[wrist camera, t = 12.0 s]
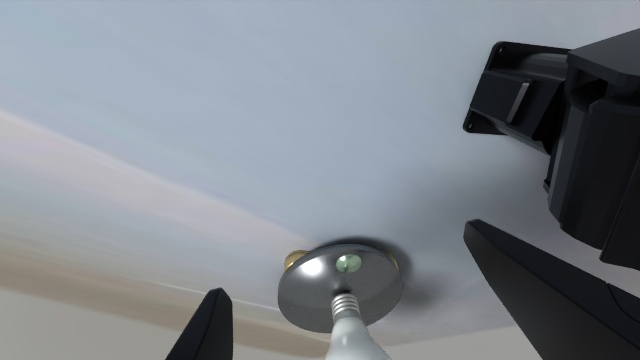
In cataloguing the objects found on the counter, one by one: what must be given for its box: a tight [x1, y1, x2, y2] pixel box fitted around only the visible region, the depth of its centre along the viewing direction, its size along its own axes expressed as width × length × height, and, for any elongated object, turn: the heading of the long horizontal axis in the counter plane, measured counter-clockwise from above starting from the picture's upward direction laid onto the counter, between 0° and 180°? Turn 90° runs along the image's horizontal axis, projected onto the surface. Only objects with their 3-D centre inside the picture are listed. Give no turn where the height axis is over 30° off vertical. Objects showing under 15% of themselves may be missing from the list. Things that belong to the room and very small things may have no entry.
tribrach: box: [278, 244, 403, 333], centre depth 28 cm, size 13×13×3 cm
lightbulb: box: [324, 294, 391, 360], centre depth 22 cm, size 6×6×11 cm
